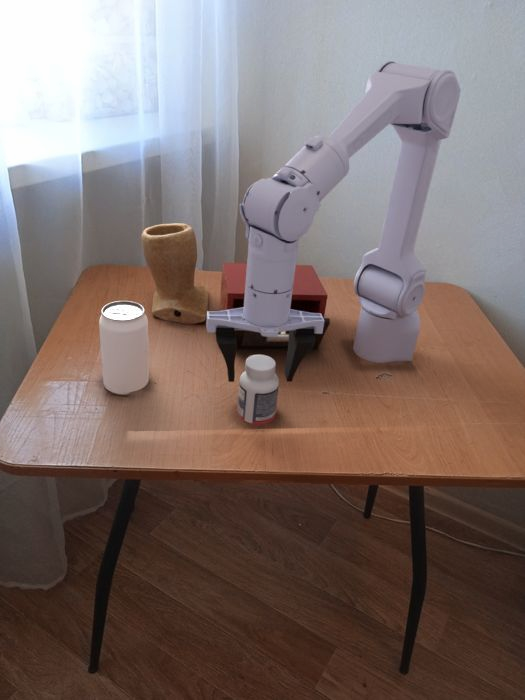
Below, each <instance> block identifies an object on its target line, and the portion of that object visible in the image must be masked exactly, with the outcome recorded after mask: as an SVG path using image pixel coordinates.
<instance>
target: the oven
mask: <svg viewBox="0 0 525 700" xmlns="http://www.w3.org/2000/svg"><path fill="white" fill-rule="evenodd" d="M246 271H247V263H246V262H245V263H243V262H240V263H239V262H222V263H221V280H220V282H221V283H220V298H219V300H220V302H219V311H223V310H229V309H236V308H242V307H244V297H245V284H246ZM328 296H329V295H328V293H327V291H326V289H325V287H324V285H323V283H322V282H321V280H320V277H319V276H318V274H317V272H316V270H315V268H314V266H313V265H311V264H296V267H295V275H294V283H293V291H292V299H291V307H290V309H292V310H297V311H303V312H309V313H321V314H322V316H323V318H325V314H326V308H327V302H328Z"/></svg>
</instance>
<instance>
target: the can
mask: <svg viewBox="0 0 525 700" xmlns="http://www.w3.org/2000/svg"><path fill="white" fill-rule="evenodd" d="M100 312H101V314H100V317H99V320H98V328H99V329H98V330H99V342H100V343H99V344H100V356H101V370H102V382H103V386H104V388H105V389H106V390H107V391H109V392H110V393H112V394H115V395H118V396H130V393H132V392H133V393H134V392H136V391H139V390H141V389H144V388H145V387H147V385H148V384H149V381H150V356H149V355H150V350H149V348H150V347H149V321H148V317H147V315H146V313H145V308H144V306H143V305H141V304H140V303H138V302H135V301H131V300H117V301H113V302H109V303H107V304H105V305H104V306H103V307H102V308H101V311H100Z"/></svg>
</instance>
